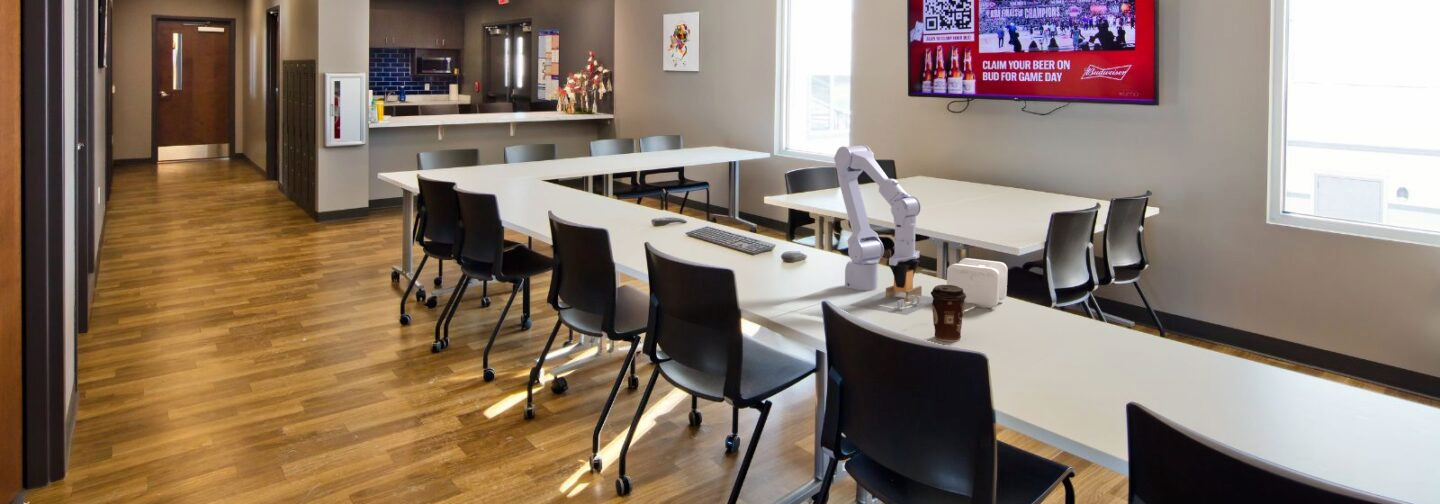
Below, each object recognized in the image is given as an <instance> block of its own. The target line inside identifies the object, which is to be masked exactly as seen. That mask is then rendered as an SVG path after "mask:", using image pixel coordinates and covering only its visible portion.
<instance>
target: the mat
mask: <svg viewBox="0 0 1440 504" xmlns="http://www.w3.org/2000/svg"><path fill="white" fill-rule="evenodd" d="M932 302H933V297H932V296H927V295H922V294H921V297H920V296H917V298H916V299H915V295H912V300H911V301H909V302H906V293H903V292H902V293H901V294H899V295H896V296H894V297H891V298H889V299H887V298H886V290H885V291H881V292H880V293H877V294H874V295H871V296H869V297H866V298H864V299H861V300H859V301H856V302H853V303H851V304H849V306H852V307H856V308H857V307H858V308H863V309H868V310H869V309H870V310H875V311H882V312H887V313H892V314H898V315H905V316H907V315H909V314H912V313H914V312H916V311H918V310H921V309H924V308H927V307H928V306H932Z"/></svg>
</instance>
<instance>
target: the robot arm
mask: <svg viewBox="0 0 1440 504" xmlns="http://www.w3.org/2000/svg"><path fill="white" fill-rule="evenodd" d="M874 154H875V153H874V152H873V151H872V150H871V148H870V147H869V146H868V145H866V144H861V145H853V146H841V147H839V148H838V149H837V150H836V153H835V155H834V157H833V160H834V163H835V167H836V172H837V179H838V184H839V187H840V190H841V195H842V198H843V202H844V205H845V209H846V213H847V217H848V221H849V224H850V228H851V231H852V232H851V235H850V236H849V238H848V239H847V244H848V248H847V249H848V251H847V253H848V256H849V259H850V260H849V261H847V263H846V265H845V268H844V288H847V289H852V290H853V289H854V290H856V291H864V292H865V291H866V292H869V291H876V290H877V289H878V288H879V287H878V286H879V284H878V283H879V280H878V279H879V278H878V277H879V262H880V261H881V258H882V257H883V256H884V252H885V248H884V244H883V242H882V240H881V239H880V238H879V234H878V232H876V231H874V230H873V229H872V228H871V226H870V222H869V218H868V215H867V211H866V207H865V204H864V200H863V196H862V191H861V188H860V186H859V185H860V184H859V182H858V181H859V180H858V177H859V176H860V175H861V174H862V173H863V172H864V173H866V174H867V175H868V177H869V178H870V179H872V180H873V181H874V182H875V184H876V185H878V193H879V194H880V195H881V196H882V198H883V199H884V200H885V201H886V202H887V203H888V204H889V206H890V212H891V214H892V216H893V223H894V253H893V255H892V256H891V257H889V259H888V266H889V268H890V270H891V272H892V274H893V279H894V278H895V283H896V287H900V288H904V285H905V278H906V273H907V270H908V269H909V270H913V278H914V275H915V273H916V271H917V268H918V266H920V265H919V264H920V262H921V261H920V259H919V258H920V250H916V224H917V223H916V222H917V221H916V220H917V219H916V218H917V216H918V215H919V214H920V213H921V203H920V201H919V200H918V197H916V196H912V195H910V194H909V193H908V192H907V191H905V190H904V188H903V187H902V186H901V184H900V183H899V180H897V179H895V178H889V177H888V176H887V174H886V173H885V171H884V170H883V169H882V167H881V166H880V164H879V163H878V161H876V160H875V159H876V158H875V157H874V156H875V155H874Z"/></svg>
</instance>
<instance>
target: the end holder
mask: <svg viewBox="0 0 1440 504" xmlns="http://www.w3.org/2000/svg"><path fill="white" fill-rule="evenodd" d="M922 290H923V289H922V285H919V286H915V287H913V289H910V290H908V291H906V302H909V301H911V300H912V295H915V299H916V298H917V296H920V297H921V295H922ZM885 291H886V298H887V299H889V298H891V297H894V296H896V295H899V294H901V293H903V292H896V291H894V284H893V285H891V286H889V287H885Z"/></svg>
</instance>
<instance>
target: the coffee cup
mask: <svg viewBox="0 0 1440 504" xmlns="http://www.w3.org/2000/svg"><path fill="white" fill-rule="evenodd" d="M930 295H931V297H933V302H932V304H931V309H932V310H931V311H932V319H933V320H932V321H933V322H932V323H933V327H934V338H935V339H936V340H938V341H942V342H947V343H954V341H955V342H958V341H957V340H959V341H961V338H962V336H961V335H962V334H961V333H962V325H963V318H964V317H963V316H964V309H965V302H964V300H965V298H966V294H965V293H964V292H963V289H962V288H960V287H958V286H954V285H947V284H938V285H936V286H934V287H933V288H932V291H930Z"/></svg>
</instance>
